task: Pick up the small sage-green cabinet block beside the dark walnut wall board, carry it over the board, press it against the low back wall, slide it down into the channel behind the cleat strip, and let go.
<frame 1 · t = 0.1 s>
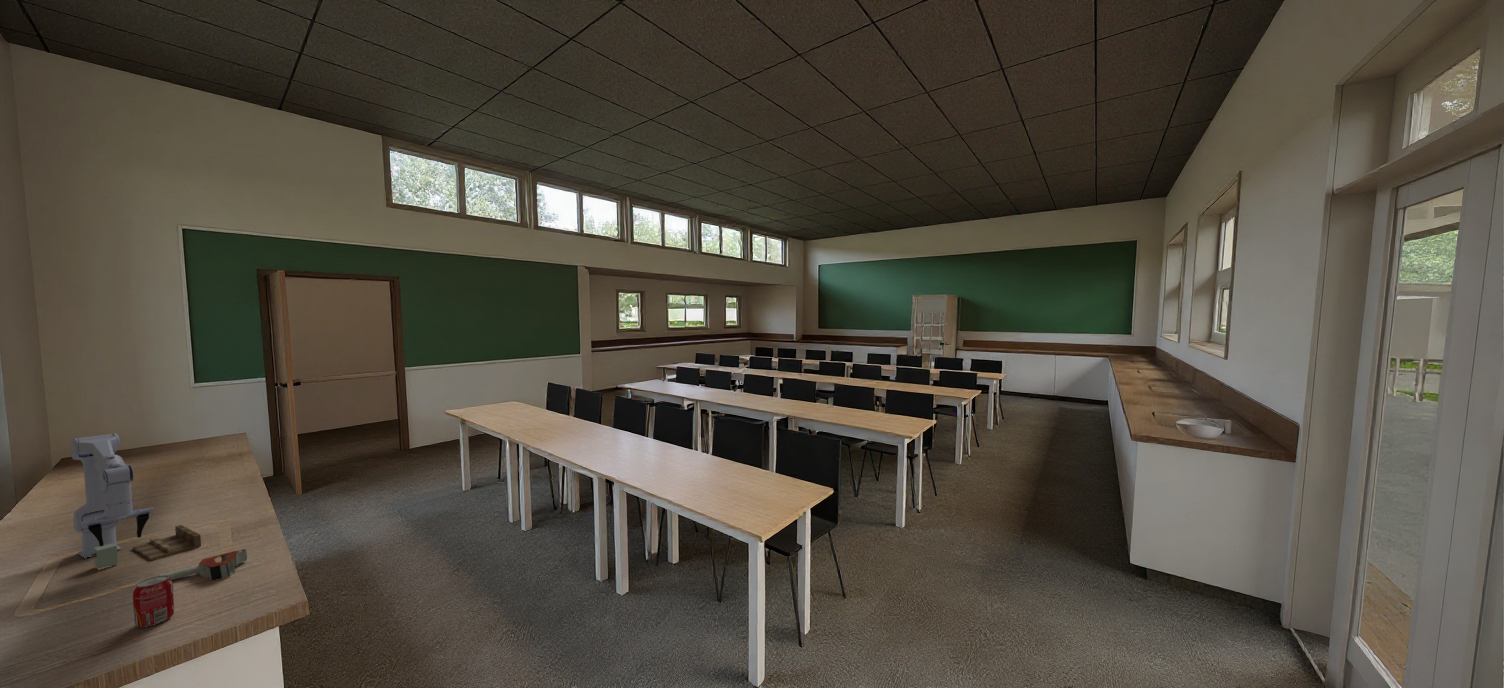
hand: (120, 540, 161), 10 cm above the counter, tool pointing down, fingers open, 7 cm apart
soda can: (155, 622, 133), on the counter
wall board: (167, 547, 177), on the counter
cabinet block: (106, 566, 163), on the counter
tape dispenser: (209, 574, 159), on the counter
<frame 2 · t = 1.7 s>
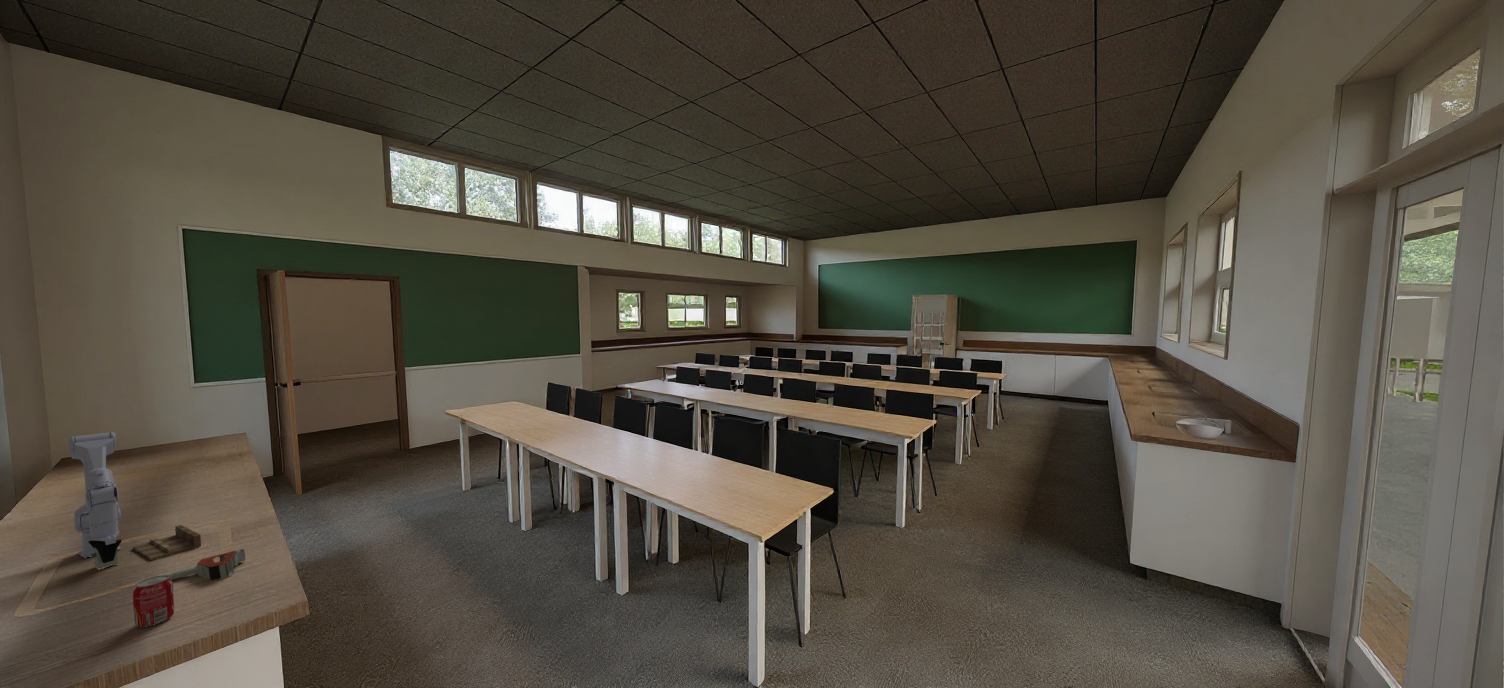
hand: (106, 560, 163), 2 cm above the counter, tool pointing down, fingers closed on cabinet block, 4 cm apart
cabinet block: (106, 566, 163), on the counter, touching gripper
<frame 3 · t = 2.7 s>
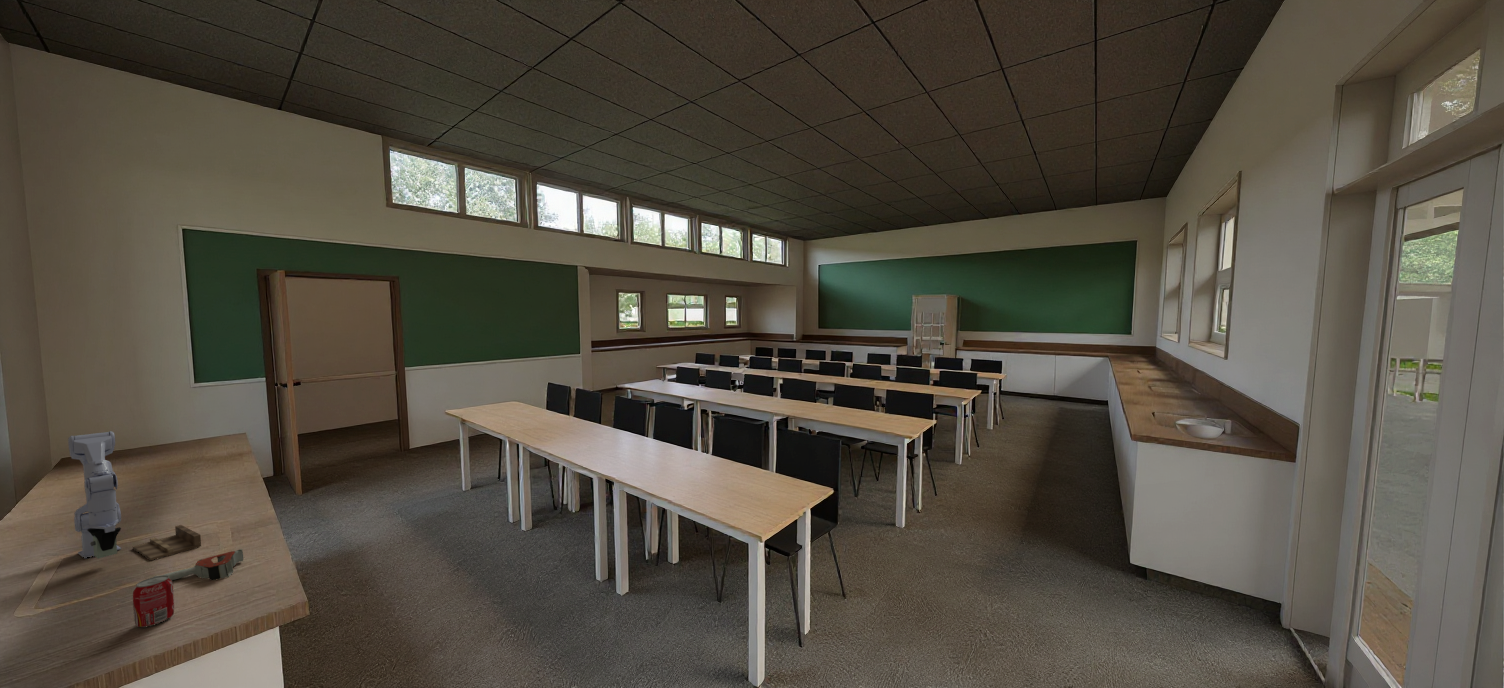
hand: (105, 548, 163), 6 cm above the counter, tool pointing down, fingers closed on cabinet block, 4 cm apart
cabinet block: (105, 554, 163), point 4 cm above the counter, touching gripper
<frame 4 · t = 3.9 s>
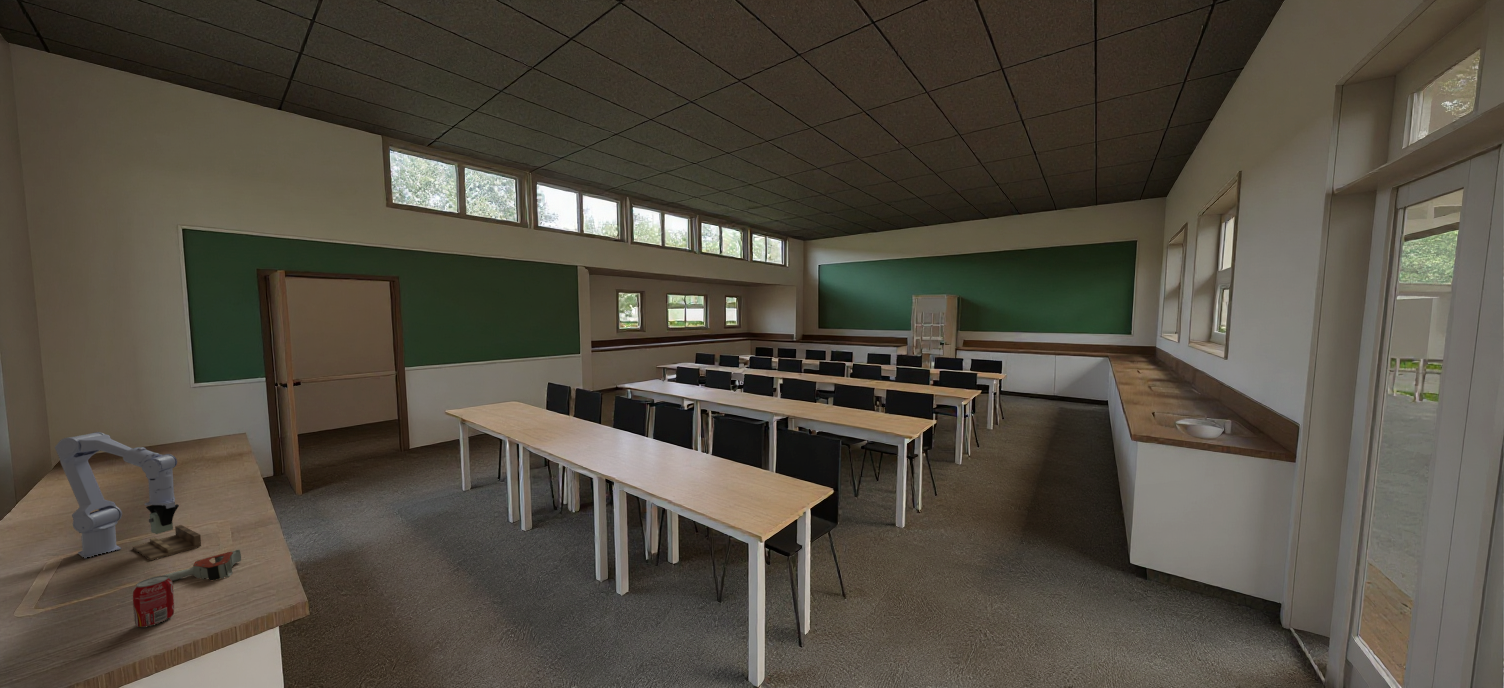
hand: (163, 523, 176), 9 cm above the counter, tool pointing down, fingers closed on cabinet block, 4 cm apart
cabinet block: (162, 530, 175), point 7 cm above the counter, touching gripper
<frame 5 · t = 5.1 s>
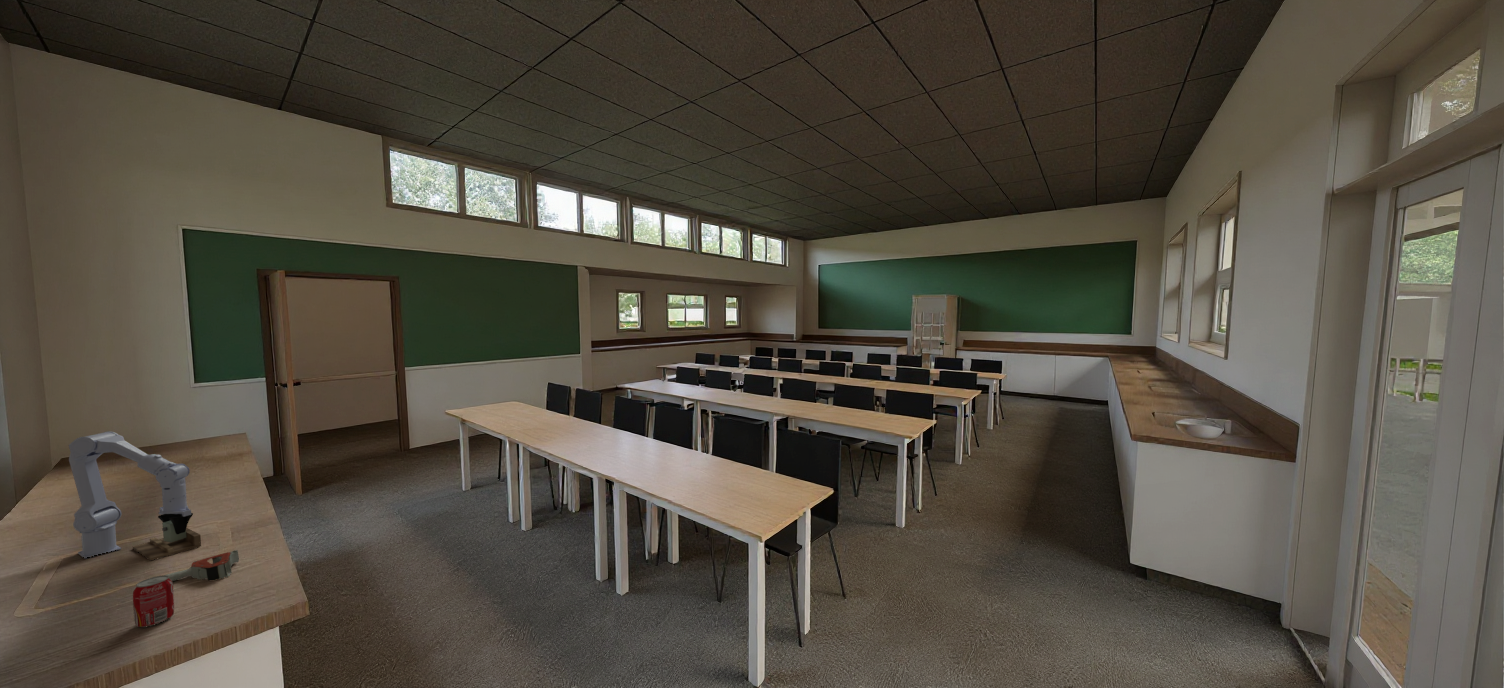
hand: (176, 532, 179), 5 cm above the counter, tool pointing down, fingers closed on cabinet block, 4 cm apart
cabinet block: (175, 539, 178), point 2 cm above the counter, touching gripper
when the fingers open (4 cm above the counter, at t = 6.1 s): cabinet block stays where it is, resting on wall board.
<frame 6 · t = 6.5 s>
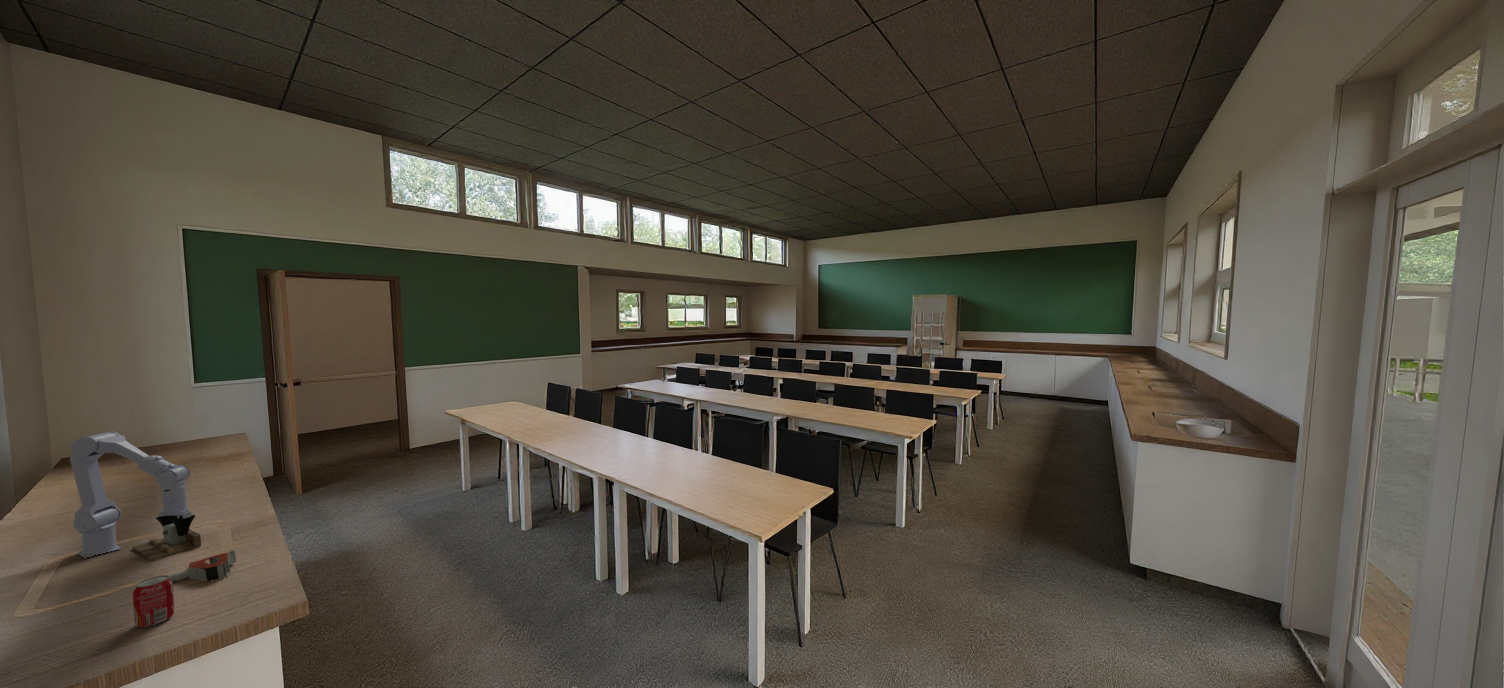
hand: (176, 534, 179), 4 cm above the counter, tool pointing down, fingers open, 7 cm apart
cabinet block: (175, 542, 178), point 1 cm above the counter, touching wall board
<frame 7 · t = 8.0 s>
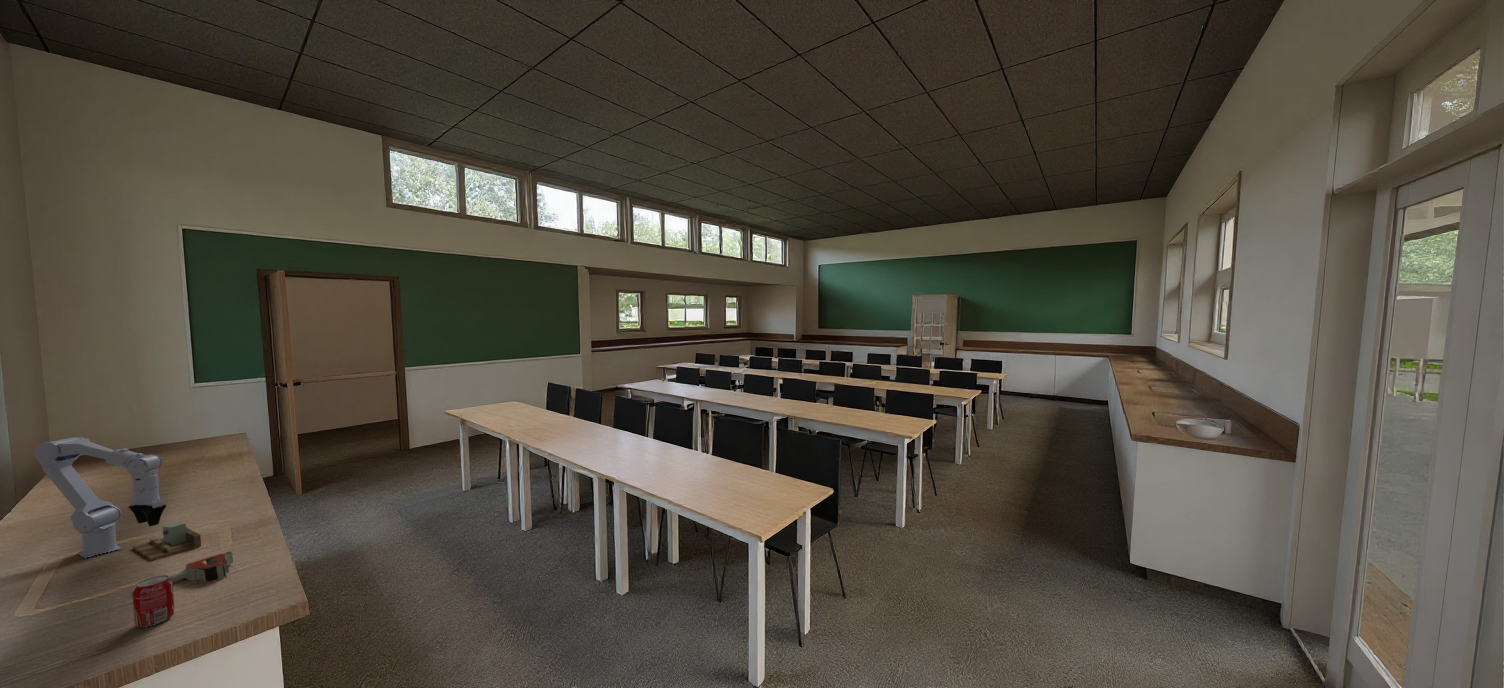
hand: (148, 523, 176), 9 cm above the counter, tool pointing down, fingers open, 7 cm apart
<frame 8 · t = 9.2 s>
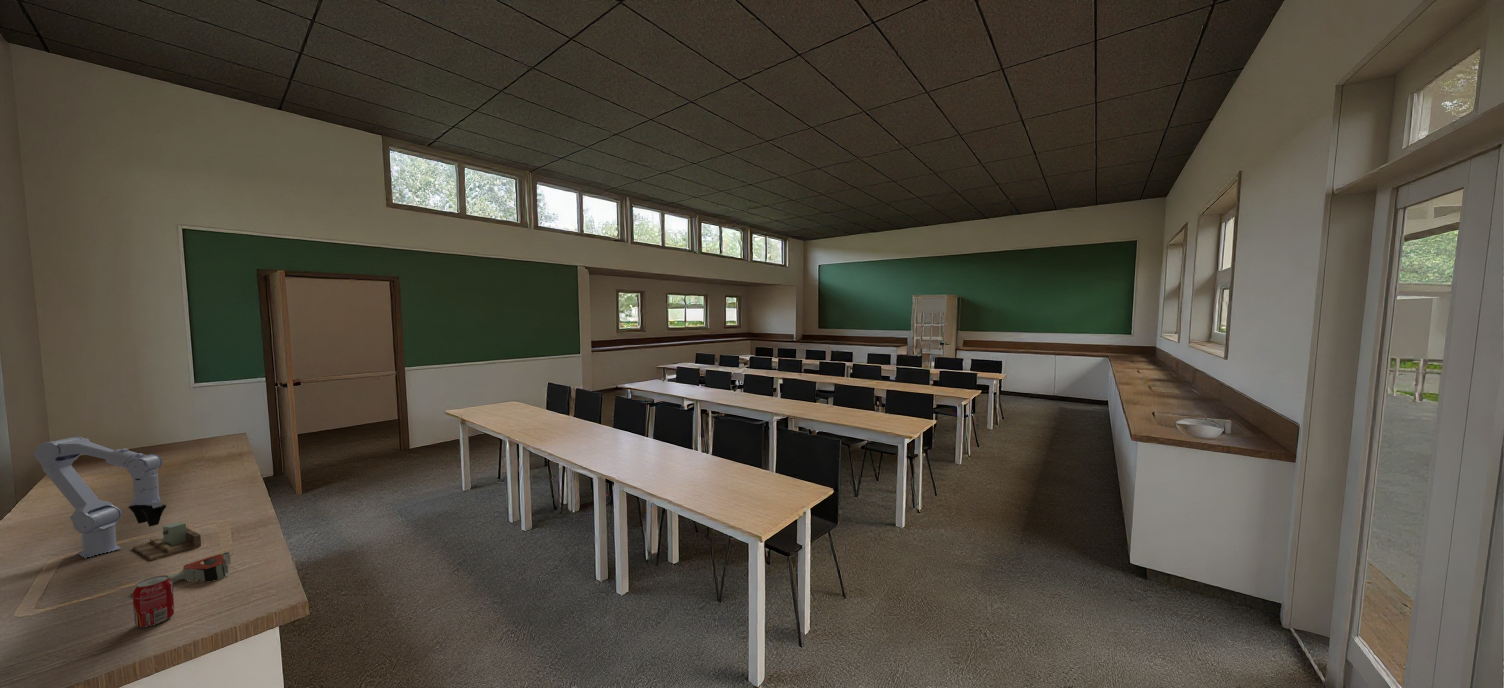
hand: (148, 523, 176), 9 cm above the counter, tool pointing down, fingers open, 7 cm apart
at the end: cabinet block inside the target area on the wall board (0.1 cm from its centre), point 1.0 cm above the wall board's base; cabinet block tilted 0°; the gripper is holding nothing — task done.
